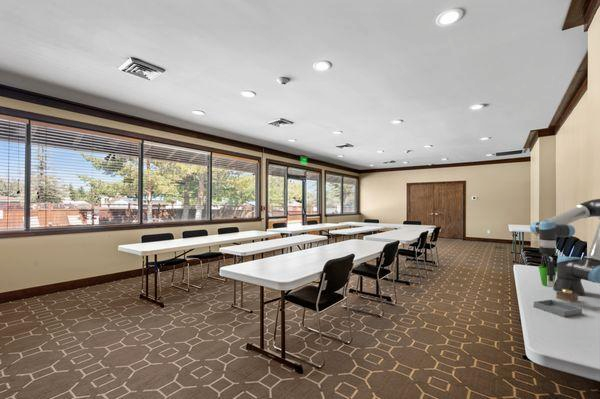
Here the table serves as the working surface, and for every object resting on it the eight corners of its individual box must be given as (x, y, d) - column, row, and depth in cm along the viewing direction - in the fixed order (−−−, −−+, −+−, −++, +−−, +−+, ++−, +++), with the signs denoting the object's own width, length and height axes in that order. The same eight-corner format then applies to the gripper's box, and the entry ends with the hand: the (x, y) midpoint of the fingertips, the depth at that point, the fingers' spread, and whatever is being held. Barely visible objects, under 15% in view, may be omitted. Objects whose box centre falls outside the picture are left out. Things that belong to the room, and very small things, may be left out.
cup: (561, 288, 164) (561, 269, 164) (544, 287, 166) (543, 269, 166) (551, 284, 173) (551, 266, 173) (534, 283, 175) (534, 265, 175)
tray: (550, 304, 161) (550, 299, 161) (582, 314, 148) (582, 308, 148) (533, 307, 157) (533, 301, 157) (564, 317, 143) (564, 311, 143)
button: (565, 293, 174) (565, 288, 174) (573, 295, 169) (573, 290, 169) (560, 293, 172) (560, 288, 172) (569, 296, 168) (569, 291, 168)
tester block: (563, 297, 175) (563, 290, 175) (577, 300, 169) (577, 294, 169) (556, 298, 173) (556, 291, 173) (570, 302, 166) (570, 295, 166)
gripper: (534, 243, 181) (534, 278, 181) (545, 249, 162) (545, 288, 162) (549, 244, 178) (549, 280, 178) (562, 250, 158) (562, 290, 158)
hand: (547, 284), depth 170 cm, fingers closed on cup, 9 cm apart
